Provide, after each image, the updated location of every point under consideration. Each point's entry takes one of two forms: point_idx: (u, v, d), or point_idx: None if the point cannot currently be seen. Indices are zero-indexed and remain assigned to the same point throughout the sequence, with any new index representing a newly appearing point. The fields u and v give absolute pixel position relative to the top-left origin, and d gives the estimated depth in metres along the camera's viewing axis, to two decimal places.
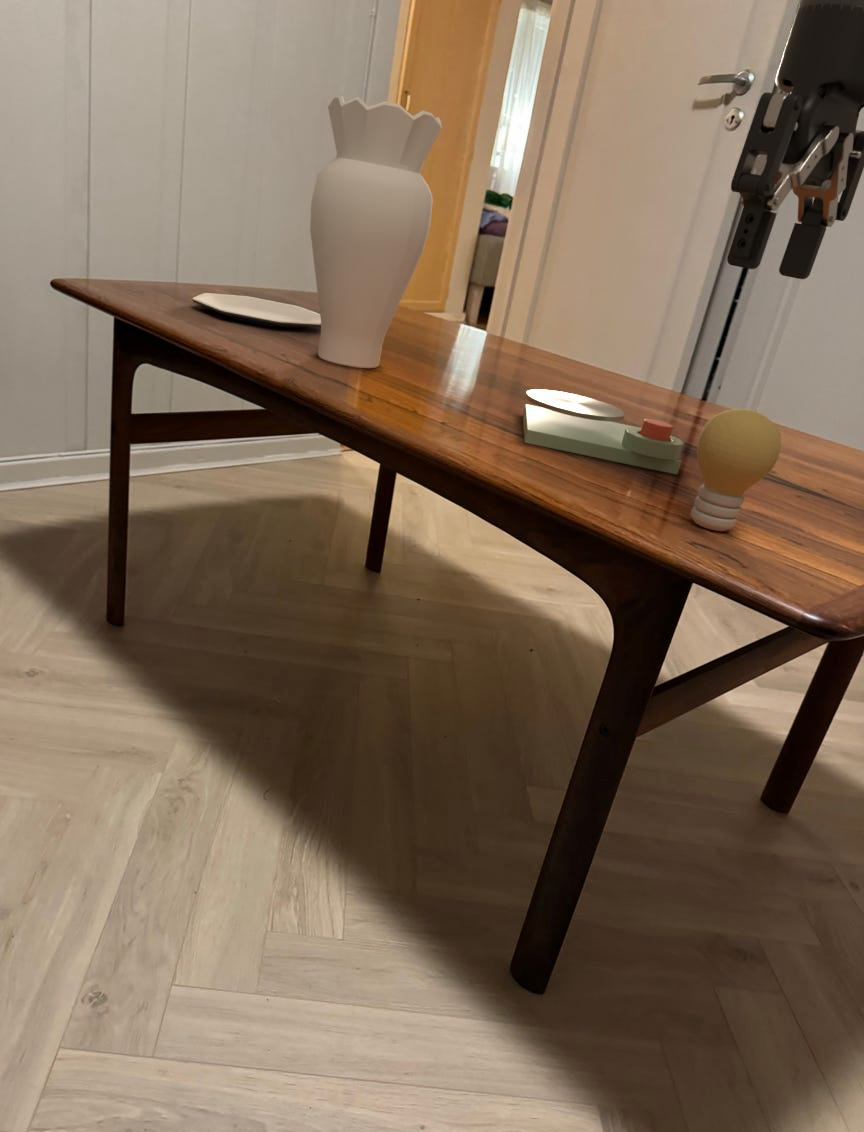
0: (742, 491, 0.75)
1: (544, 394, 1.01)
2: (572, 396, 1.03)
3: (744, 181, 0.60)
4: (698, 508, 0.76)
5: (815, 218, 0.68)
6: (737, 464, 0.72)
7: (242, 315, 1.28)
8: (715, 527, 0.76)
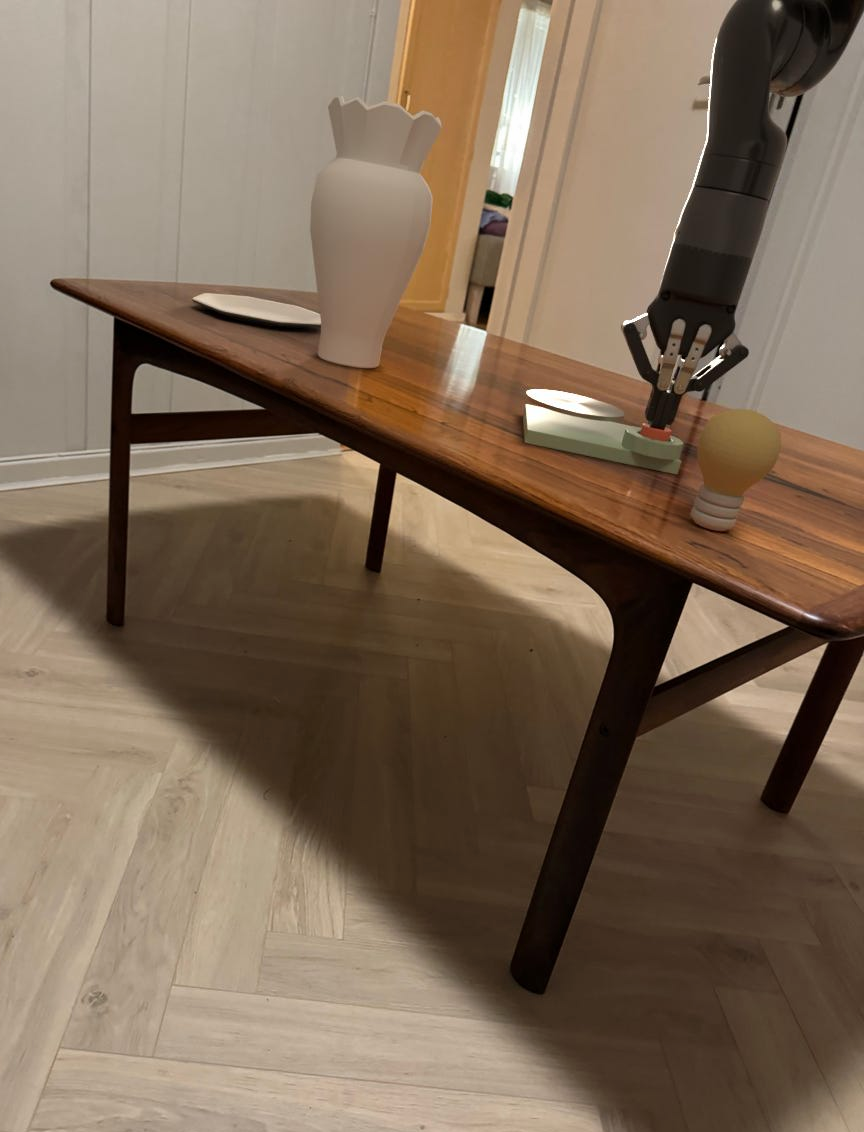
0: (742, 491, 0.75)
1: (544, 394, 1.01)
2: (572, 396, 1.03)
3: None
4: (698, 508, 0.76)
5: (673, 382, 0.91)
6: (737, 464, 0.72)
7: (242, 315, 1.28)
8: (715, 527, 0.76)
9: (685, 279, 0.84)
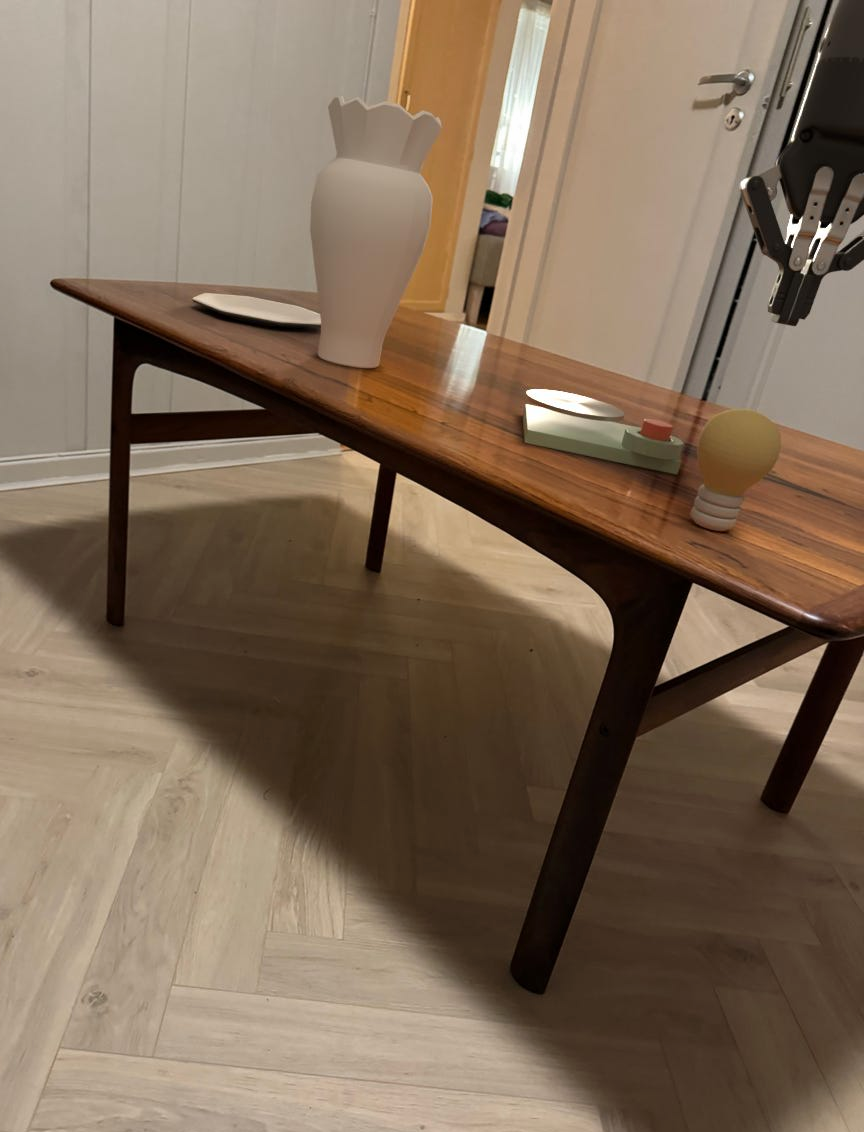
0: (742, 491, 0.75)
1: (544, 394, 1.01)
2: (572, 396, 1.03)
3: (764, 245, 0.68)
4: (698, 508, 0.76)
5: (809, 260, 0.68)
6: (736, 464, 0.72)
7: (242, 315, 1.28)
8: (715, 527, 0.76)
9: (838, 105, 0.61)
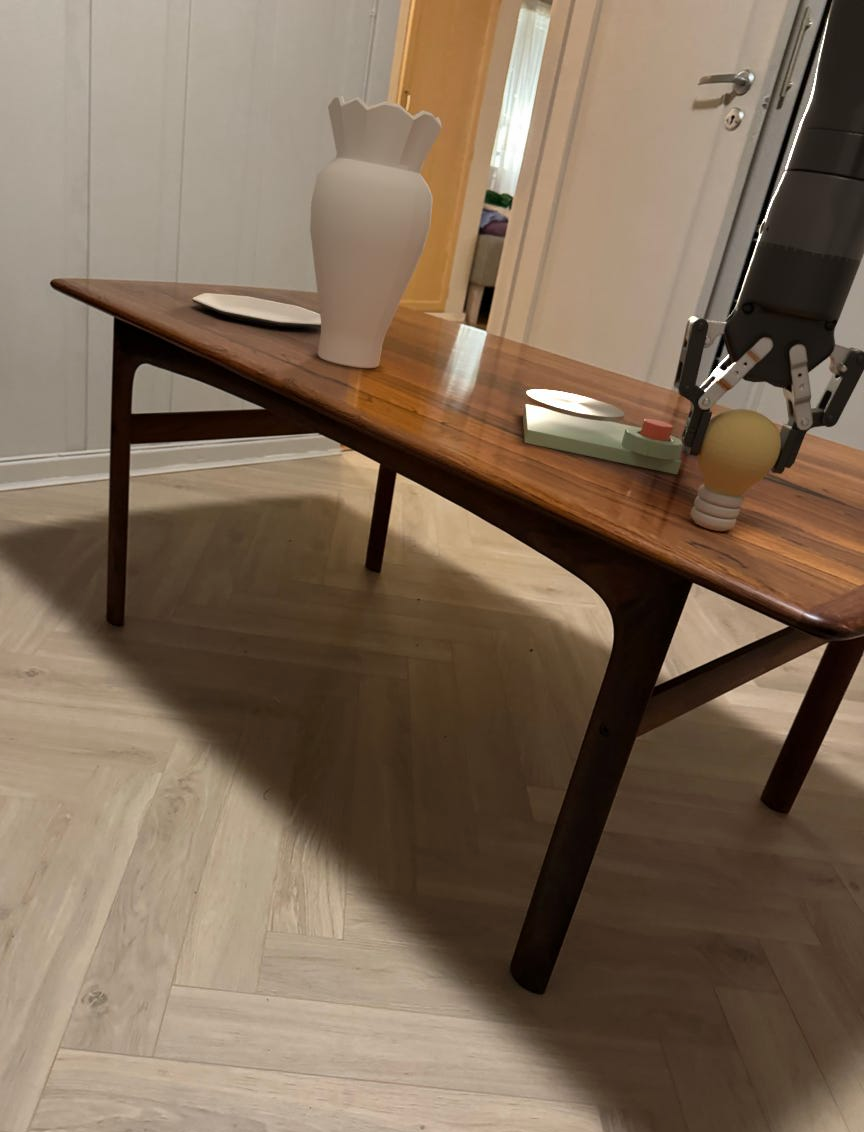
0: (742, 491, 0.75)
1: (544, 394, 1.01)
2: (572, 396, 1.03)
3: (676, 384, 0.73)
4: (698, 508, 0.76)
5: (792, 419, 0.73)
6: (736, 464, 0.72)
7: (242, 315, 1.28)
8: (715, 527, 0.76)
9: (776, 287, 0.66)
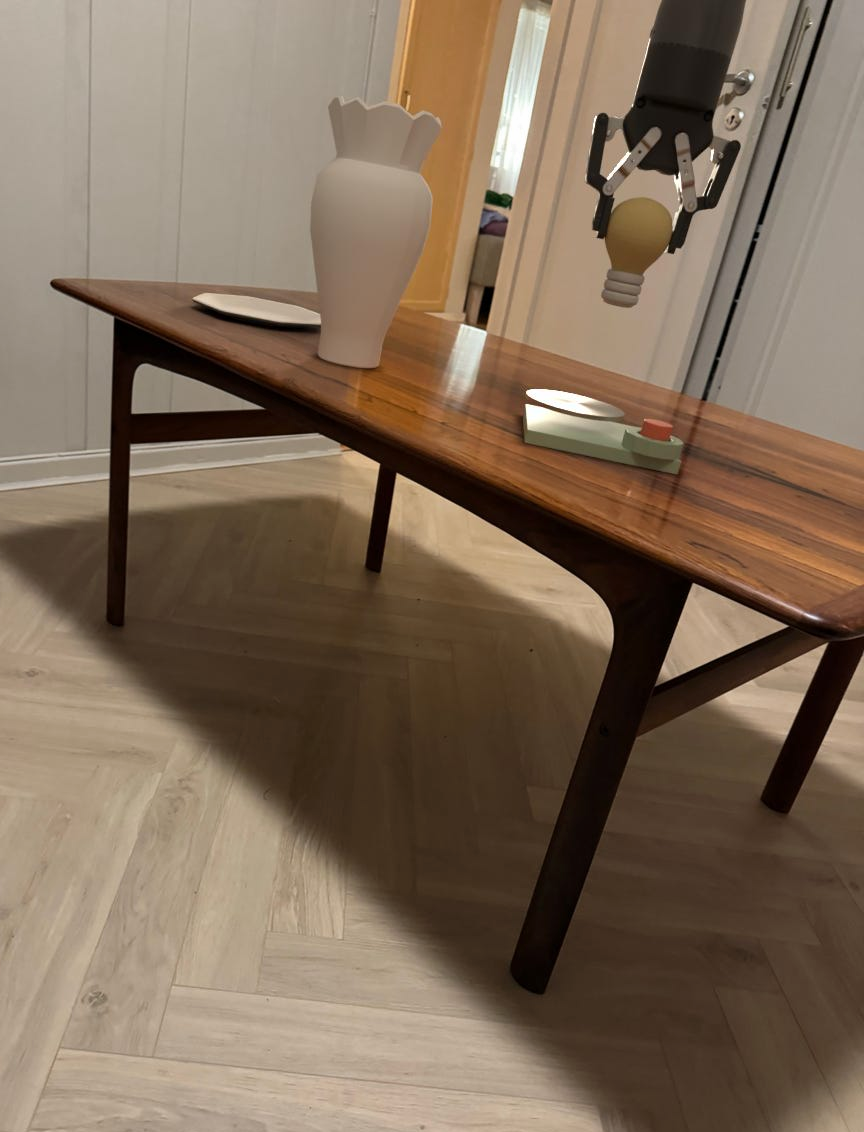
0: (641, 269, 0.89)
1: (544, 394, 1.01)
2: (572, 396, 1.03)
3: (586, 175, 0.88)
4: (606, 287, 0.91)
5: (681, 205, 0.87)
6: (634, 240, 0.86)
7: (242, 315, 1.28)
8: (620, 302, 0.90)
9: (660, 79, 0.81)
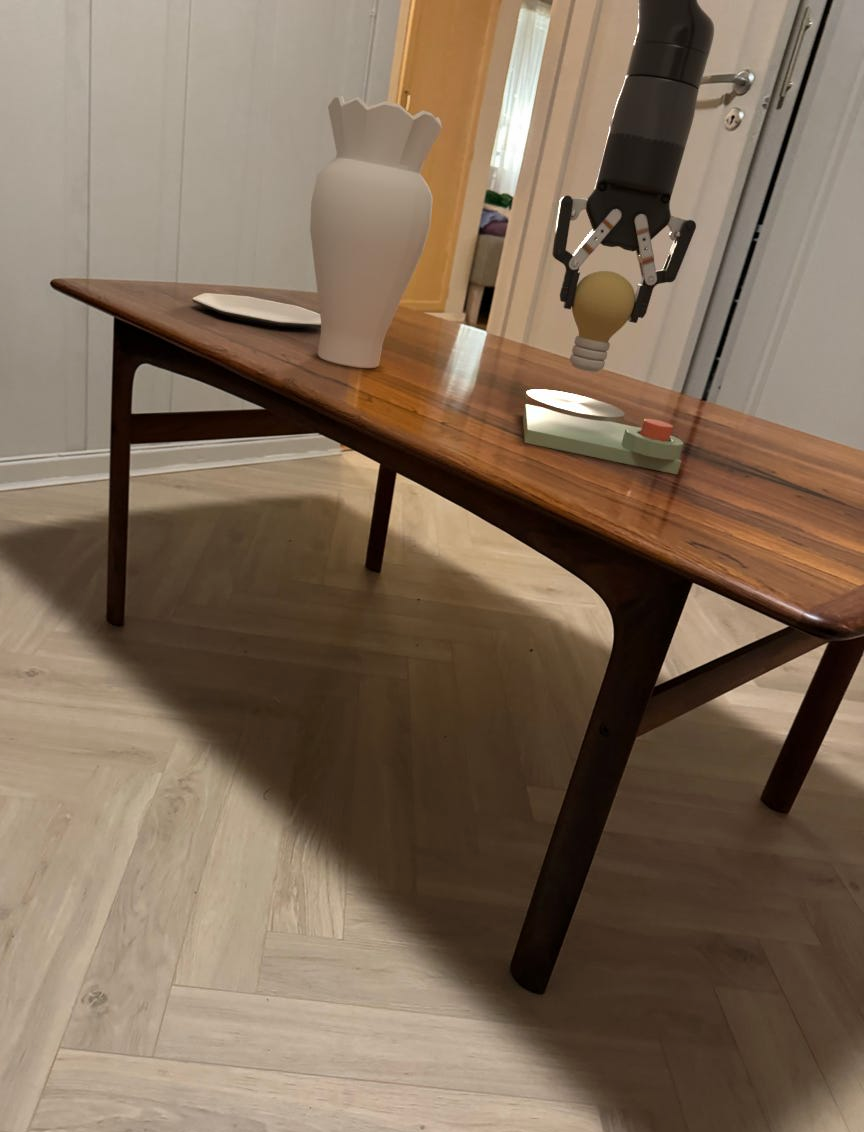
0: (606, 337, 0.95)
1: (544, 394, 1.01)
2: (572, 396, 1.03)
3: (553, 251, 0.94)
4: (574, 353, 0.97)
5: (643, 278, 0.93)
6: (598, 312, 0.93)
7: (242, 315, 1.28)
8: (587, 367, 0.96)
9: (619, 166, 0.87)
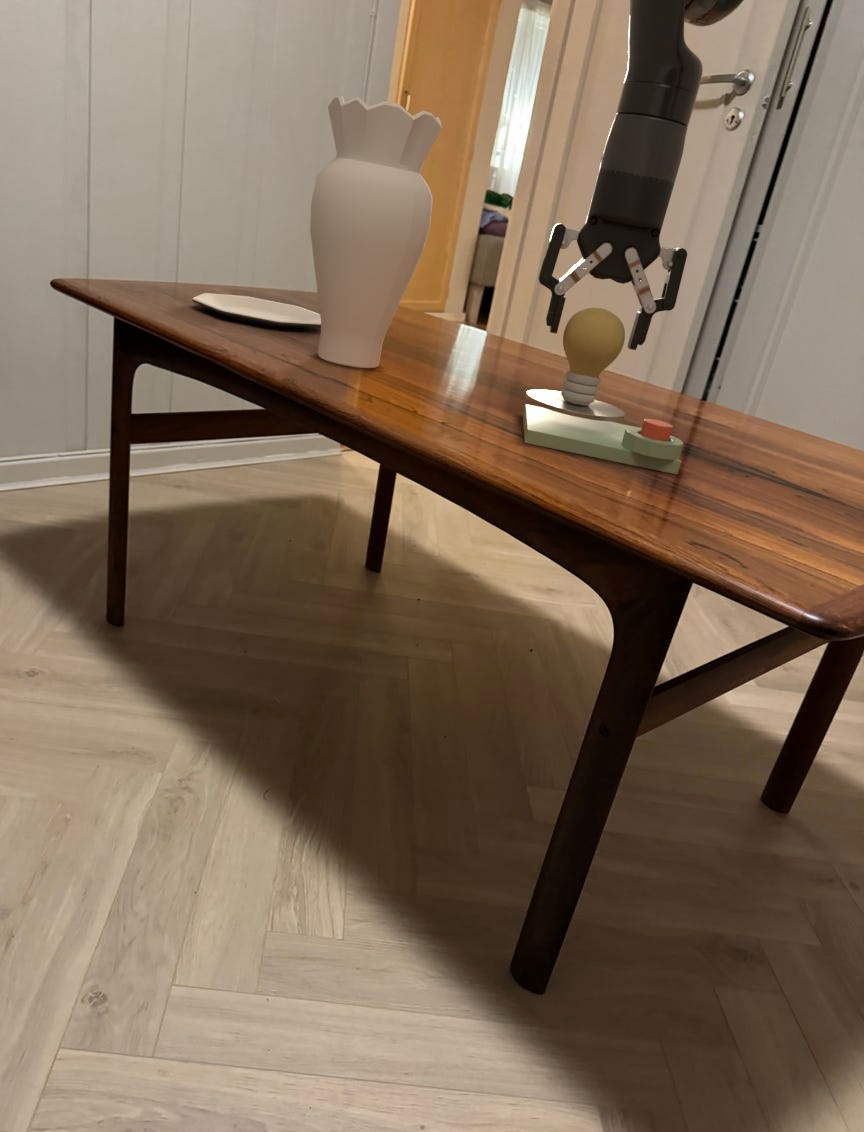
0: (597, 372, 0.97)
1: (544, 394, 1.01)
2: None
3: (539, 276, 0.95)
4: (565, 387, 0.98)
5: (642, 307, 0.95)
6: (589, 348, 0.94)
7: (242, 315, 1.28)
8: (578, 401, 0.98)
9: (609, 202, 0.88)
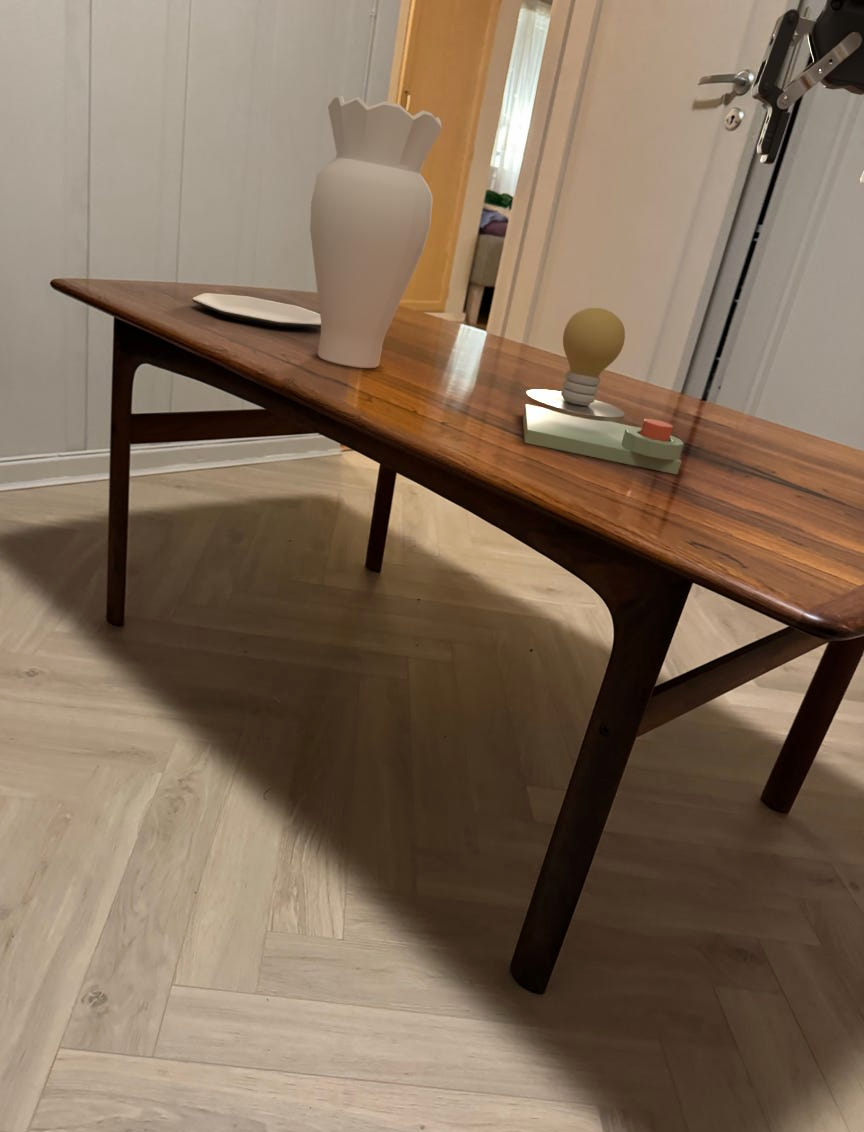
0: (597, 372, 0.97)
1: (544, 394, 1.01)
2: None
3: (754, 87, 0.74)
4: (565, 387, 0.98)
5: None
6: (589, 348, 0.94)
7: (242, 315, 1.28)
8: (578, 401, 0.98)
9: None
